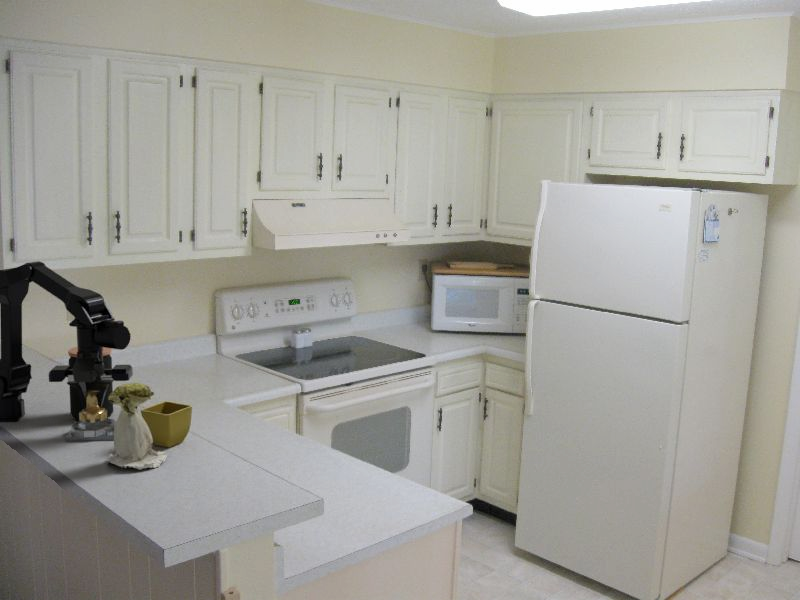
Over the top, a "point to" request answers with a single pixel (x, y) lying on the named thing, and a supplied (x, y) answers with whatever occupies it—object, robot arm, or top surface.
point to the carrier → (92, 430)
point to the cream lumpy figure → (133, 429)
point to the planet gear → (92, 408)
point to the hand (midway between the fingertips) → (92, 406)
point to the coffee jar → (90, 385)
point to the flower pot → (168, 422)
